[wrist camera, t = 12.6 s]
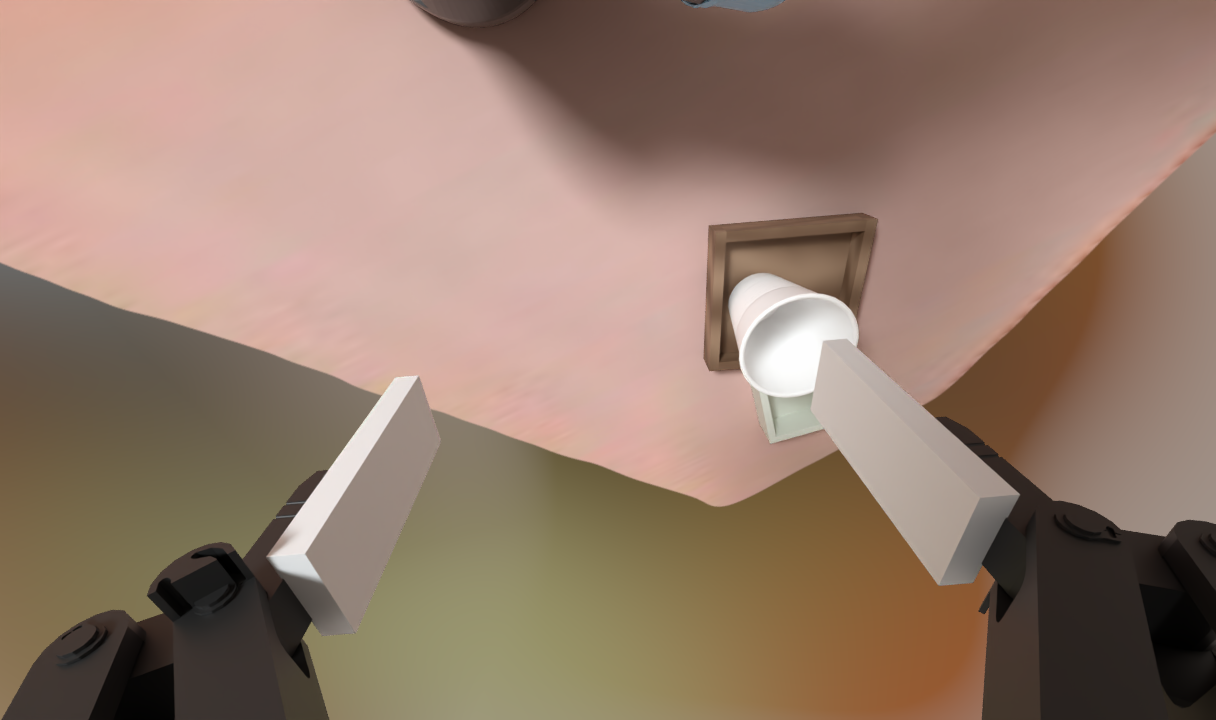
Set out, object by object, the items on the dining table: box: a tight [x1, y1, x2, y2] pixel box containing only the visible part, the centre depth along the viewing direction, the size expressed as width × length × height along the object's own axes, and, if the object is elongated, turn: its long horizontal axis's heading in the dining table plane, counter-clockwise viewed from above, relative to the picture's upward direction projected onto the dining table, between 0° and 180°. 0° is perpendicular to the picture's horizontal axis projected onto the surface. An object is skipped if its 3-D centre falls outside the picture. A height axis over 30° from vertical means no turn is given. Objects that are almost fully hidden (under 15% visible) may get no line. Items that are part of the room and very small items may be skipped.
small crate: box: [751, 386, 824, 444], centre depth 51 cm, size 9×9×4 cm
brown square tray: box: [704, 213, 878, 371], centre depth 46 cm, size 15×15×3 cm
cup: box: [728, 273, 859, 398], centre depth 42 cm, size 10×10×11 cm
